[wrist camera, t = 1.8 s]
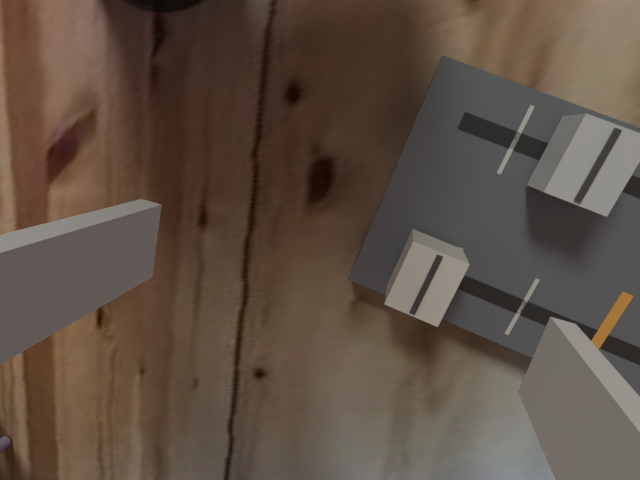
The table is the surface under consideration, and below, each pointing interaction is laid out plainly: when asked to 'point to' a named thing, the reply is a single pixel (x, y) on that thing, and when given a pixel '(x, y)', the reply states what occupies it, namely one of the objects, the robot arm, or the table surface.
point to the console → (509, 220)
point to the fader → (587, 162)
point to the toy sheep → (4, 442)
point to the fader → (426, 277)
